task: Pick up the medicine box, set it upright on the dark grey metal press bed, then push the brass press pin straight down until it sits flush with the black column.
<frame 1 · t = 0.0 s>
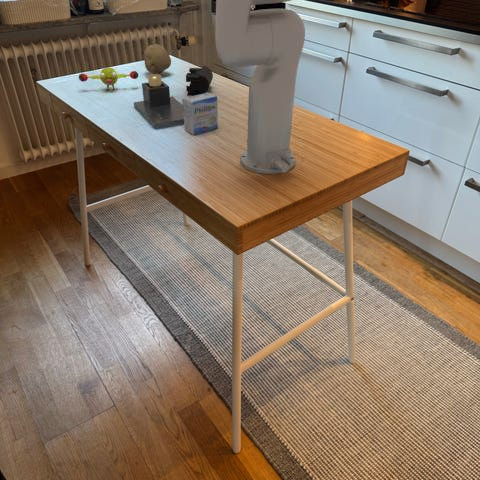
medicine box: (201, 130, 118), on the table
press: (164, 114, 126), on the table
end cap: (200, 92, 142), on the table
natural sponge: (158, 75, 156), on the table
pin: (155, 85, 126), point 6 cm above the table, slide at 0.0 cm
toy figure: (111, 90, 142), on the table
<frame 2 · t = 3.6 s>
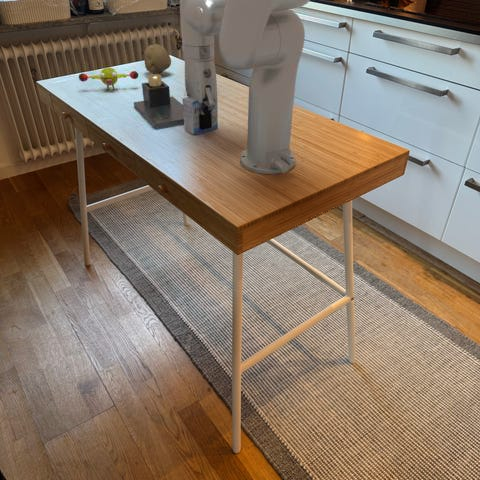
hand: (201, 123, 117), 1 cm above the table, tool pointing down, fingers closed on medicine box, 5 cm apart
medicine box: (201, 130, 118), on the table, touching gripper
everything else where it was.
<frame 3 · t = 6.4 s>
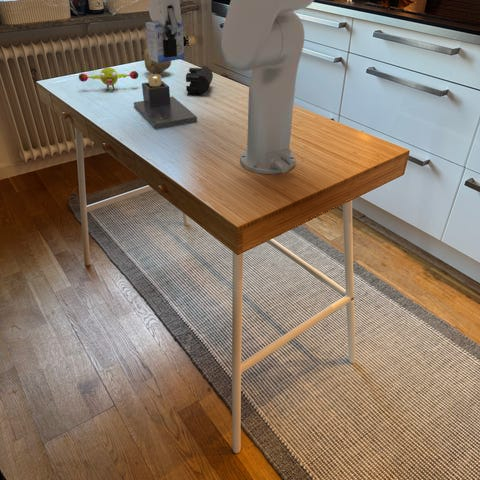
hand: (166, 53, 112), 18 cm above the table, tool pointing down, fingers closed on medicine box, 5 cm apart
medicine box: (166, 60, 113), point 16 cm above the table, touching gripper
everything else where it was.
when the fingers open (5 cm above the table, at t = 9.1 s): medicine box drops 2 cm, resting on press.
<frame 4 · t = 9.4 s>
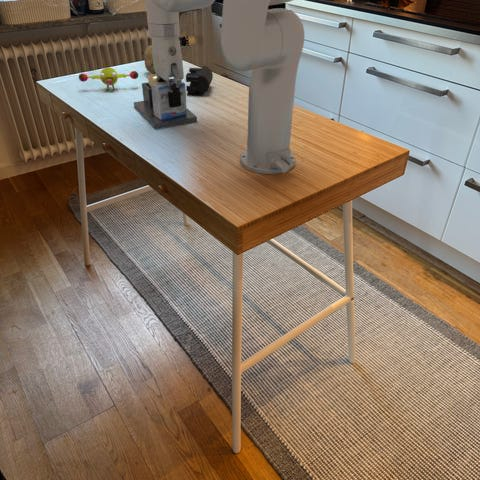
hand: (169, 101, 119), 5 cm above the table, tool pointing down, fingers open, 7 cm apart
medicine box: (170, 115, 122), point 1 cm above the table, touching press
everything else where it was.
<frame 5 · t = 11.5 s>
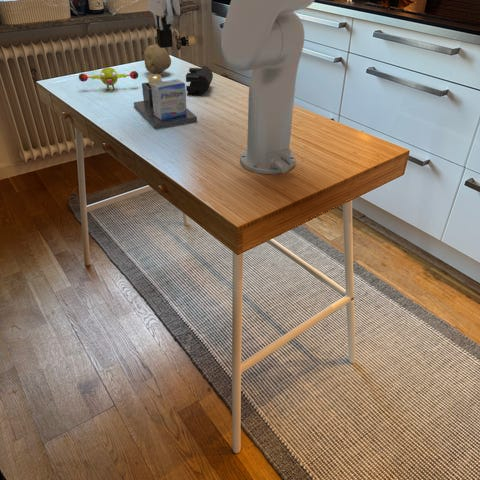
hand: (165, 46, 111), 19 cm above the table, tool pointing down, fingers closed
nothing on the table moved.
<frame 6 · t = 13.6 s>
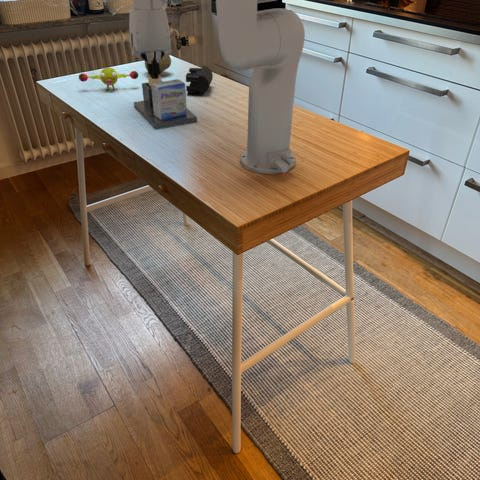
hand: (154, 76, 125), 9 cm above the table, tool pointing down, fingers closed
pin: (155, 86, 126), point 6 cm above the table, slide at 0.4 cm, touching gripper
everything else where it was.
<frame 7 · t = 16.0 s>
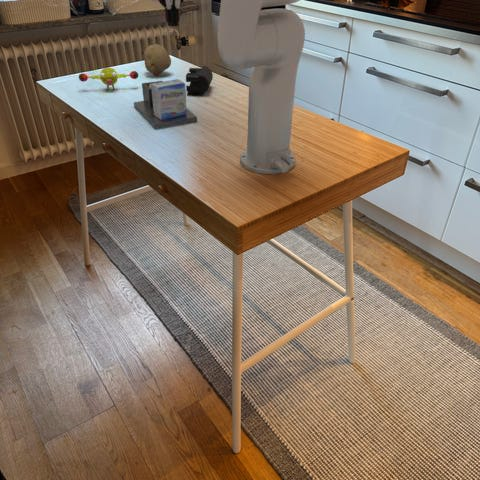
hand: (172, 25, 116), 22 cm above the table, tool pointing down, fingers closed
pin: (156, 93, 128), point 4 cm above the table, slide at 2.5 cm
everything else where it was.
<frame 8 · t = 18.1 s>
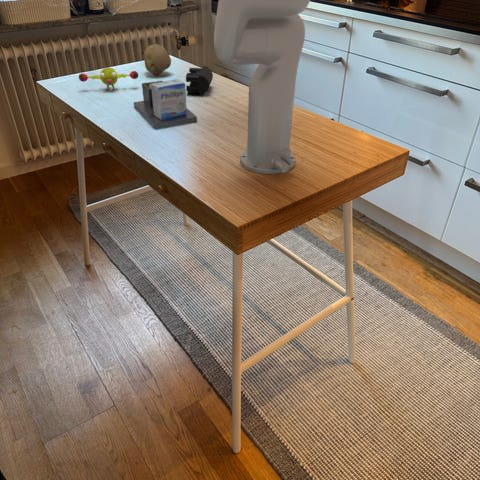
hand: (228, 6, 112), 27 cm above the table, tool pointing down, fingers closed
nothing on the table moved.
at the end: medicine box inside the target area on the press (0.1 cm from its centre), point 1.3 cm above the press's base; medicine box tilted 0°; pin slide at 2.5 cm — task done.
